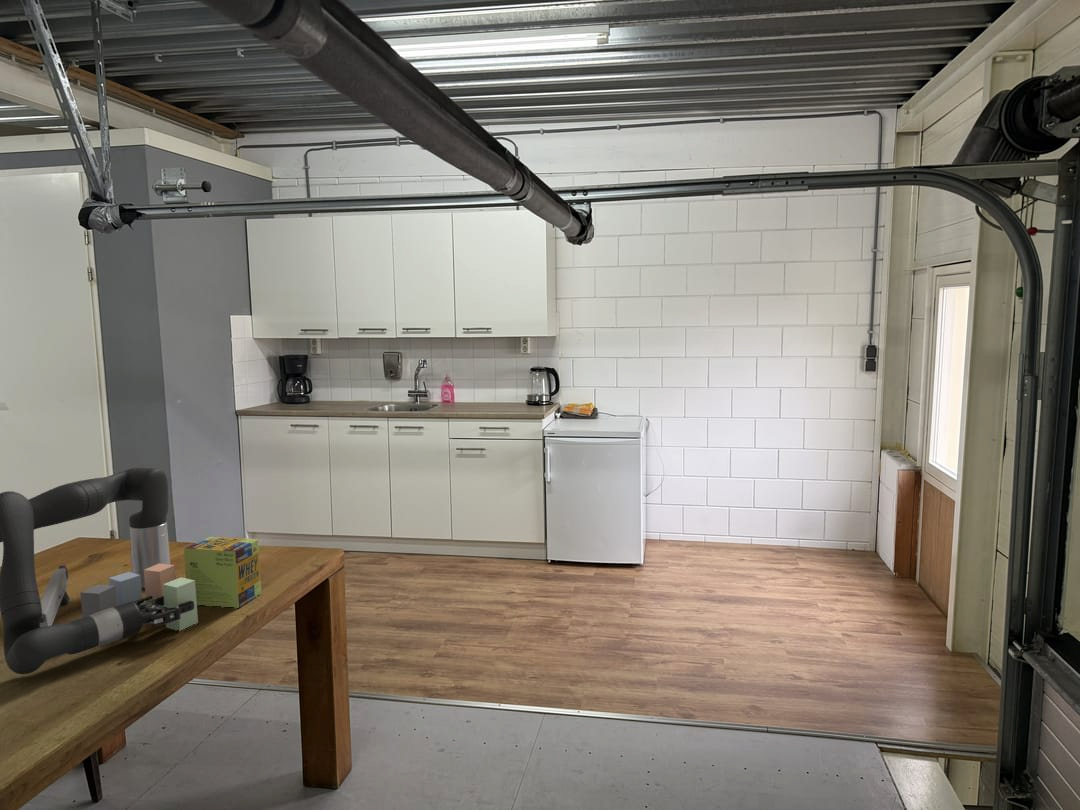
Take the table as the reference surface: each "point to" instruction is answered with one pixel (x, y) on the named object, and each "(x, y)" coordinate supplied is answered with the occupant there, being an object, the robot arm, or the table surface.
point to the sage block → (181, 601)
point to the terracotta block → (158, 579)
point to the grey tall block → (98, 599)
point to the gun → (54, 596)
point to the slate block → (127, 587)
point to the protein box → (224, 571)
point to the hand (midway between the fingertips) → (184, 600)
